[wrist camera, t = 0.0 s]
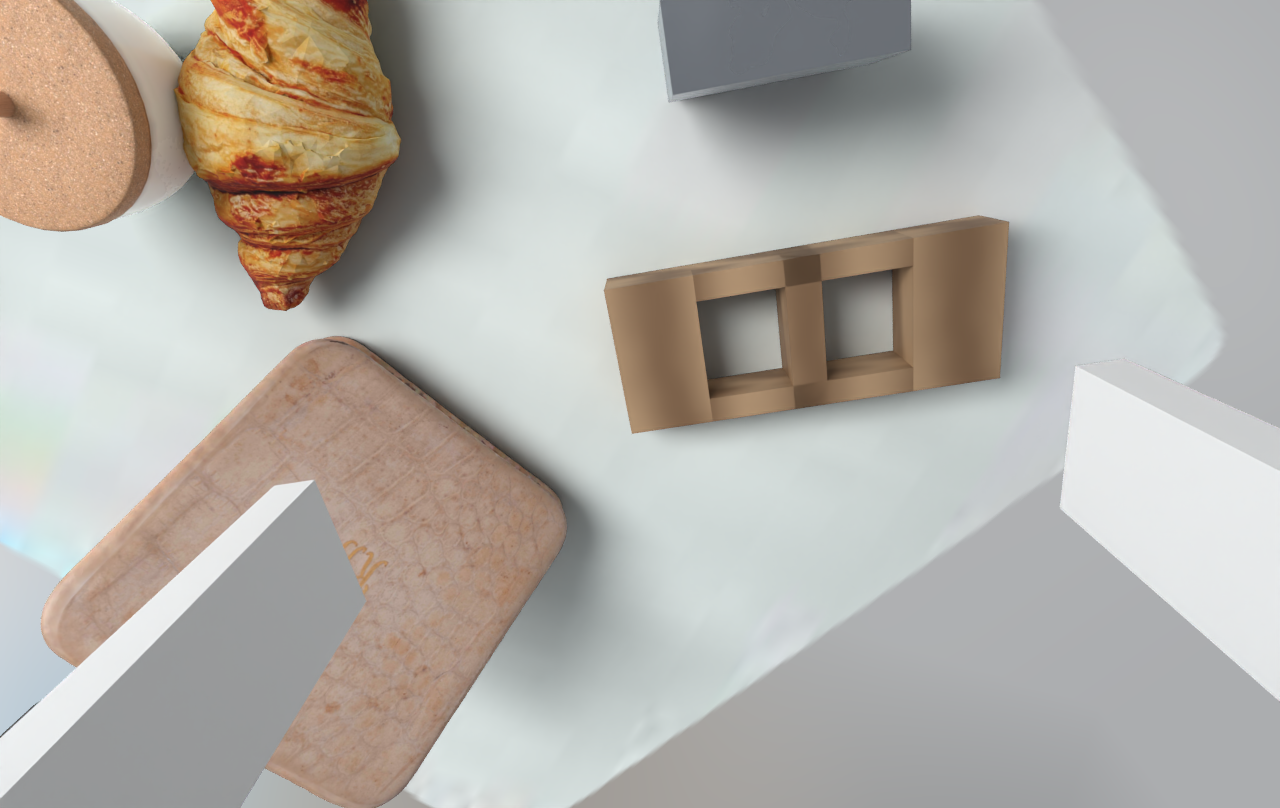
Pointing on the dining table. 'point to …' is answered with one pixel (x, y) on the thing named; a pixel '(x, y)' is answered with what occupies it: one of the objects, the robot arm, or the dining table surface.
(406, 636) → the case
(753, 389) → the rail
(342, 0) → the croissant
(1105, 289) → the dining table surface
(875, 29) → the grey bridge block
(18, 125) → the lidded jar
